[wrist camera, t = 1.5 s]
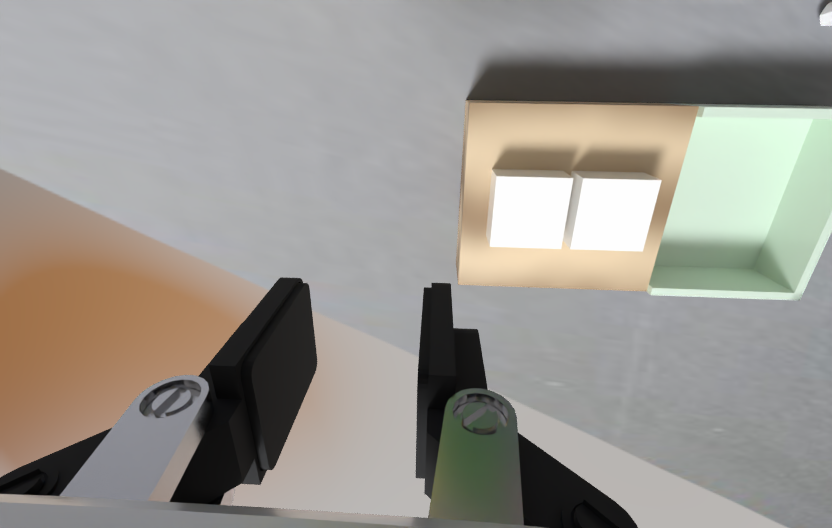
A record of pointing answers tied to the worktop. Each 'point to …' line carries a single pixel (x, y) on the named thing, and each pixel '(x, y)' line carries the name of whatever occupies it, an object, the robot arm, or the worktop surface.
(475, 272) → the oak plate
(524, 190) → the tile
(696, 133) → the bin
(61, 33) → the worktop surface
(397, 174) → the worktop surface
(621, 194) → the tile
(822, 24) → the figurine
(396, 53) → the worktop surface
